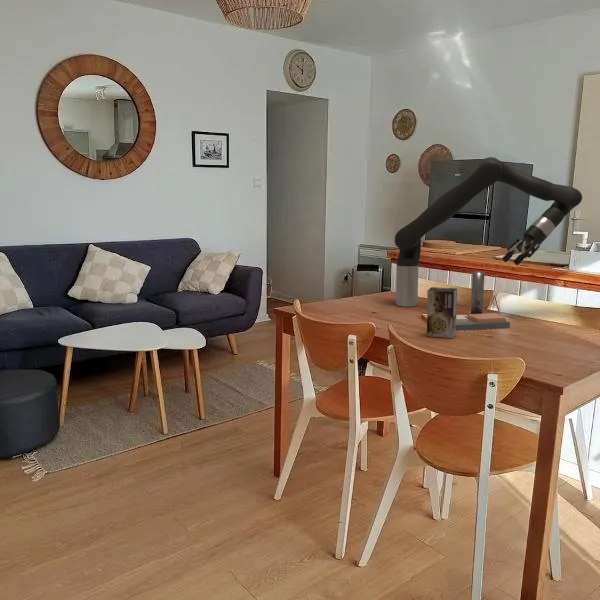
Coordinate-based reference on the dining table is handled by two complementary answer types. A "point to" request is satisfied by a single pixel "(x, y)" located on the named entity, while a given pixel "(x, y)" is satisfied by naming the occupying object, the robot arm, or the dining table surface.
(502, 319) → the button
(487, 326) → the button board
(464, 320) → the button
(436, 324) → the coffee box
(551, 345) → the dining table surface
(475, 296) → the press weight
